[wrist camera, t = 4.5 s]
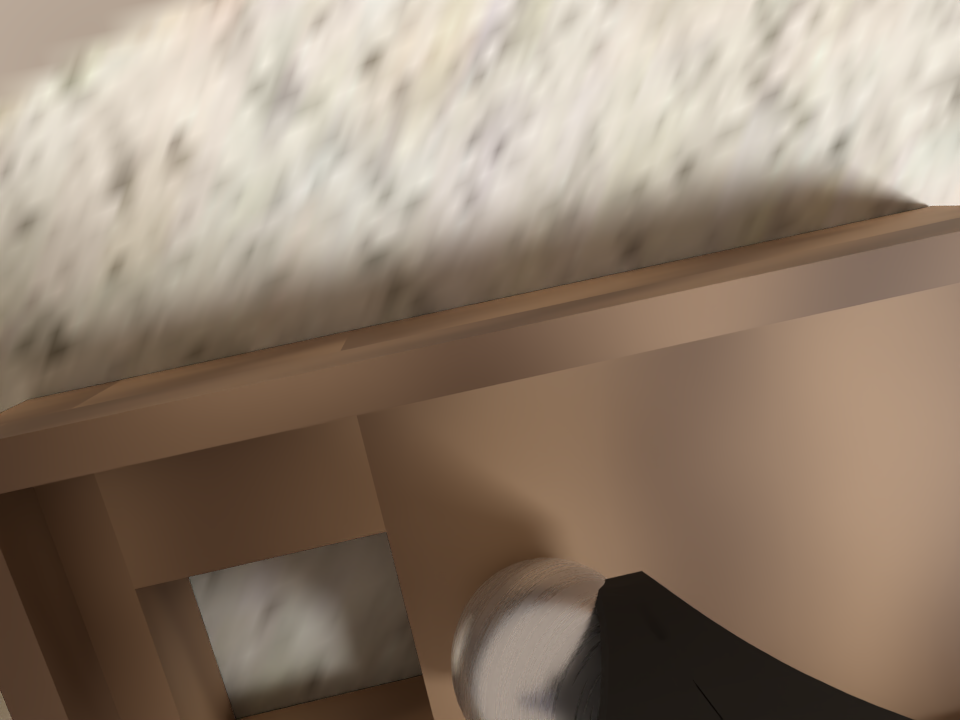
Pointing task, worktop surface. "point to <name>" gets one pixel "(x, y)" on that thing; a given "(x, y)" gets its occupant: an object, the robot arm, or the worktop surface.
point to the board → (524, 475)
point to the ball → (530, 644)
